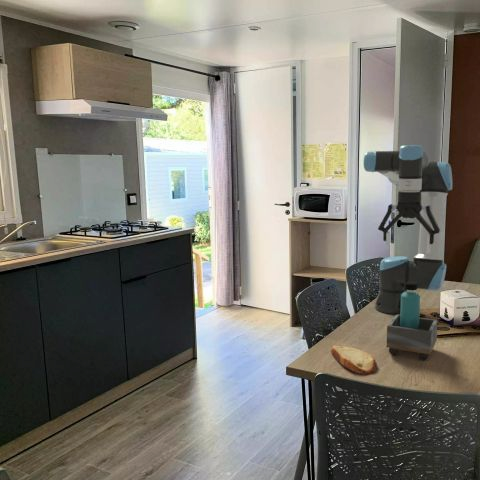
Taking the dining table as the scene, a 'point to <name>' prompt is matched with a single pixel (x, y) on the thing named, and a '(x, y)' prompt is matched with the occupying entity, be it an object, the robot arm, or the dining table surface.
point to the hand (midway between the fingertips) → (407, 251)
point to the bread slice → (354, 359)
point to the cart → (412, 337)
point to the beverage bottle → (410, 307)
